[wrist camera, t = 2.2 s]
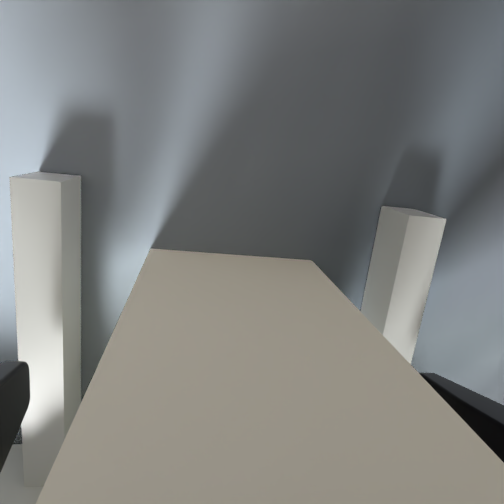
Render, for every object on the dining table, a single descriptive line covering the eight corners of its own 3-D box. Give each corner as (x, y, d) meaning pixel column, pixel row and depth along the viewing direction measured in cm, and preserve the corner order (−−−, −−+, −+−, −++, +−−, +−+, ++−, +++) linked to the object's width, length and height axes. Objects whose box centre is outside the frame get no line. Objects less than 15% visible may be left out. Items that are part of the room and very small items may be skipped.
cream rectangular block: (311, 260, 11) (628, 593, 3) (289, 396, 12) (473, 907, 4) (150, 248, 10) (-28, 642, 2) (143, 393, 12) (11, 1004, 3)
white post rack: (414, 209, 11) (536, 247, 7) (353, 482, 14) (418, 625, 10) (-426, 125, 8) (-1039, 109, 4) (-307, 495, 11) (-615, 711, 7)
